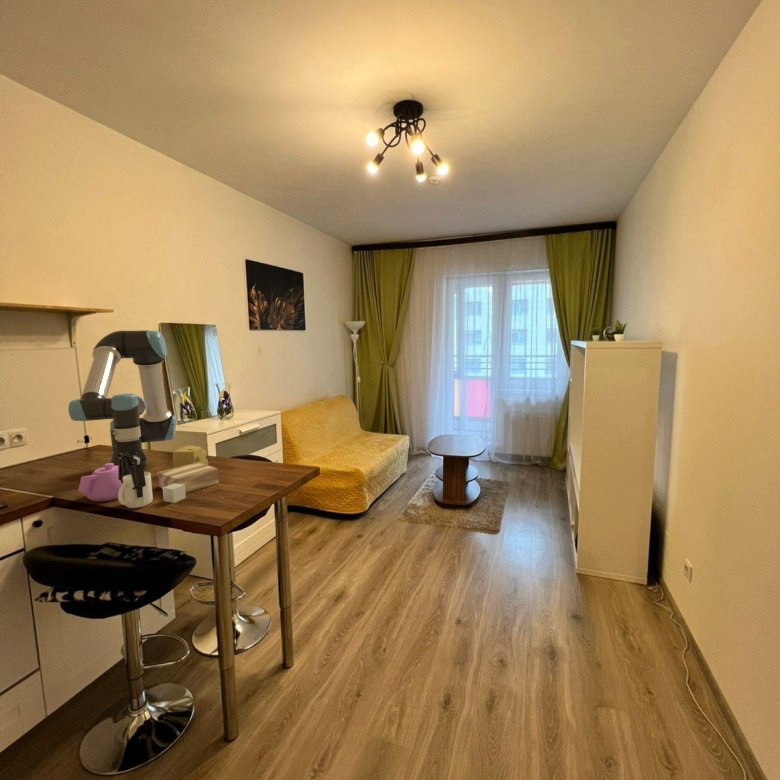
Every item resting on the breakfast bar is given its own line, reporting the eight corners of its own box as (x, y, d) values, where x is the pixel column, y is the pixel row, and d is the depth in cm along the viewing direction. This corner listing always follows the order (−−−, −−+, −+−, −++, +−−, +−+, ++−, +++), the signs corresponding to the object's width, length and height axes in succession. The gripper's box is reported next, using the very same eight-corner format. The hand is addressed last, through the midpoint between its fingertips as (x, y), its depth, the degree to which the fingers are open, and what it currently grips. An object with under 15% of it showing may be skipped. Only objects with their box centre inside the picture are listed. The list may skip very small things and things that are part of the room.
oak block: (158, 486, 161) (157, 472, 161) (197, 476, 174) (196, 462, 173) (178, 495, 152) (177, 479, 151) (218, 482, 165) (217, 468, 164)
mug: (129, 513, 135) (127, 483, 134) (109, 511, 137) (106, 482, 136) (158, 500, 147) (156, 472, 146) (139, 498, 149) (136, 471, 148)
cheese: (208, 466, 188) (207, 445, 187) (195, 474, 177) (193, 451, 176) (187, 466, 189) (185, 445, 188) (172, 473, 178) (170, 451, 177)
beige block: (163, 501, 146) (162, 487, 146) (175, 496, 151) (174, 483, 150) (173, 503, 144) (172, 489, 144) (185, 498, 149) (184, 484, 149)
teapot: (97, 508, 141) (94, 474, 139) (66, 503, 146) (62, 470, 144) (153, 487, 161) (150, 457, 160) (124, 483, 166) (121, 454, 165)
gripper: (103, 437, 143) (109, 500, 146) (129, 445, 131) (135, 513, 133) (127, 433, 149) (132, 493, 152) (154, 441, 137) (159, 506, 139)
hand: (133, 503), depth 142 cm, fingers closed on mug, 8 cm apart
